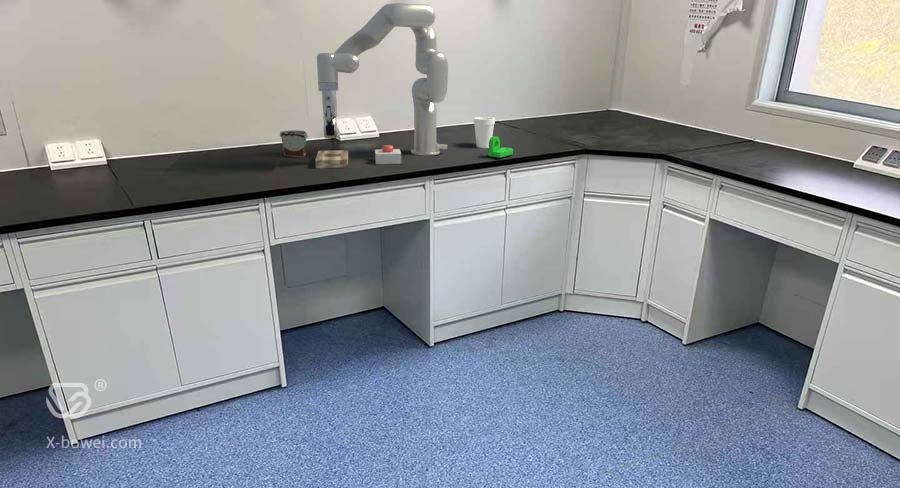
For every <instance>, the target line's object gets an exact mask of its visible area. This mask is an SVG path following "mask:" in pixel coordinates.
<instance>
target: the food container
mask: <svg viewBox="0 0 900 488" xmlns="http://www.w3.org/2000/svg"><path fill="white" fill-rule="evenodd" d="M279 137H281V144H282V150H283V154H284V156H286V157H294V158H305V157H306V156H307V139H308V133H307V131H304V130H284V131H280V133H279Z"/></svg>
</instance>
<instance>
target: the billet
mask: <svg viewBox="0 0 900 488" xmlns="http://www.w3.org/2000/svg"><path fill="white" fill-rule="evenodd" d="M331 117H332V116H331ZM322 121H323V136H324V139H336V138H338V125H337V117H336V118H335V116H333V125H334V134H335V135H334V136H326V118H325V117H324V115H323V118H322Z"/></svg>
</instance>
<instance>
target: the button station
mask: <svg viewBox="0 0 900 488" xmlns="http://www.w3.org/2000/svg"><path fill="white" fill-rule="evenodd" d="M374 160H375V165H400V164H402V152H401V148H393V152H383V151H382V148H381V149H374Z"/></svg>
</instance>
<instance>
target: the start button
mask: <svg viewBox="0 0 900 488" xmlns="http://www.w3.org/2000/svg"><path fill="white" fill-rule="evenodd" d="M381 147H382V148H381V149H382V151H383V152H393V149H394V145H391V144H387V145H386V144H385V145H382V146H381Z"/></svg>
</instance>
